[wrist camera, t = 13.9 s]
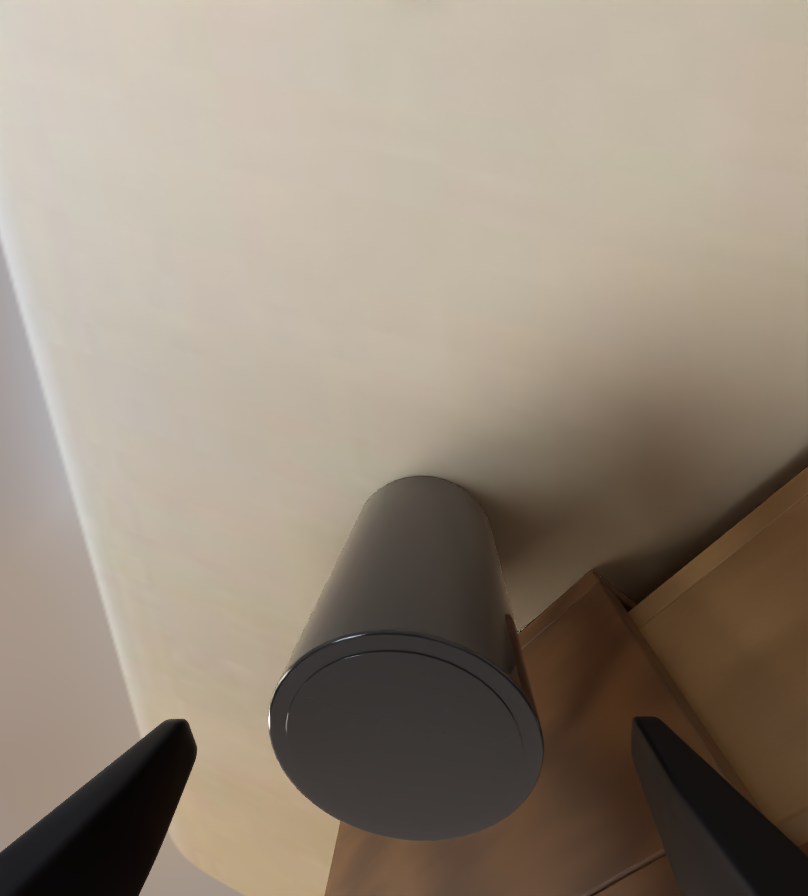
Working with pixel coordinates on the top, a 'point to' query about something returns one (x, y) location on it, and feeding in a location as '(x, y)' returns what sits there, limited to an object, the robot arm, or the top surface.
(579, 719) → the cabinet
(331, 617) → the cup
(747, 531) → the drawer
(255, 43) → the top surface
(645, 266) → the top surface
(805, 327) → the top surface
